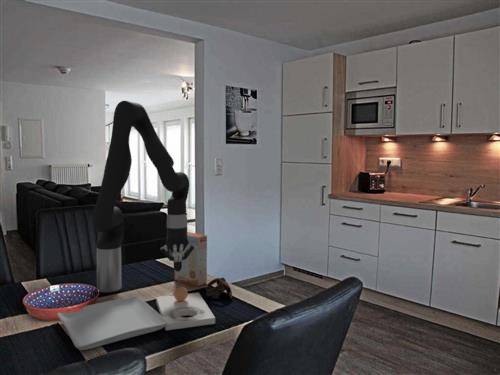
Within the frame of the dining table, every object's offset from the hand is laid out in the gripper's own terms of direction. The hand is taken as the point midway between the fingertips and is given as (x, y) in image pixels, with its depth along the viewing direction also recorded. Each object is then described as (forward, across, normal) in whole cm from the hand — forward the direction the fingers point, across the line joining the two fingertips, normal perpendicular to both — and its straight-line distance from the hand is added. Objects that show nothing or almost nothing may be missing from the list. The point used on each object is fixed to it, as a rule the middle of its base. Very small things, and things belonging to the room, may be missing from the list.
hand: (177, 270), depth 151 cm
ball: (+6, 0, +8) cm, 10 cm away
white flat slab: (+11, 0, +14) cm, 17 cm away
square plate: (+11, +24, +18) cm, 32 cm away
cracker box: (+11, -8, -17) cm, 22 cm away
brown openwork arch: (+11, -16, +2) cm, 20 cm away
